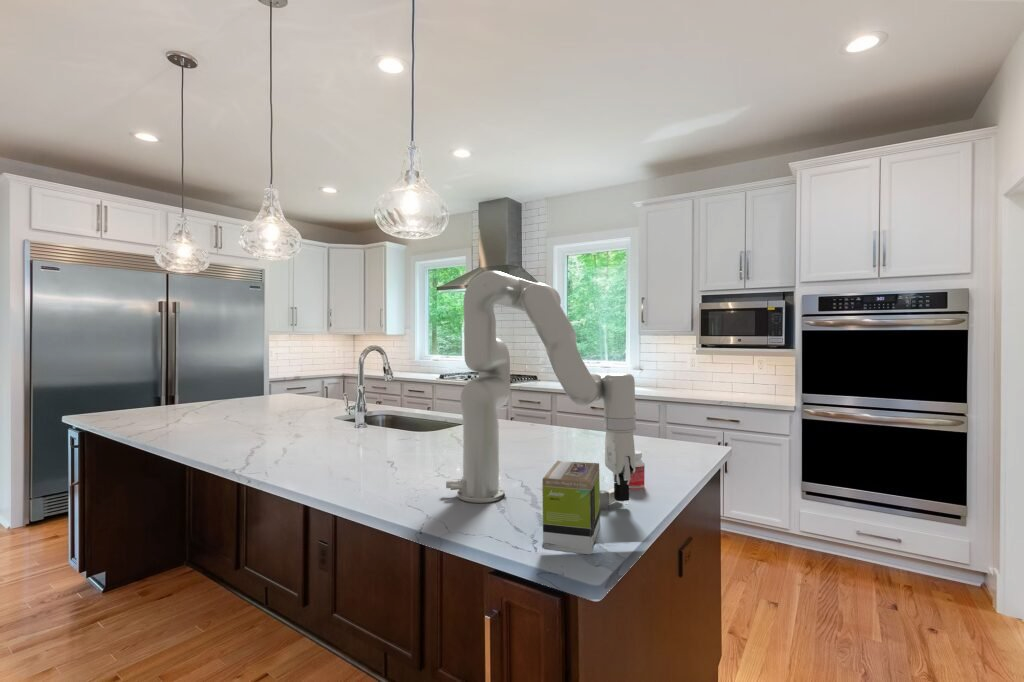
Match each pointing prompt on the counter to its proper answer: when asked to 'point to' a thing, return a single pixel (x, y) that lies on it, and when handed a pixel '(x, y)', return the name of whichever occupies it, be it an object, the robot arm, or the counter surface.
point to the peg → (606, 498)
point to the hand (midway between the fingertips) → (621, 499)
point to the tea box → (571, 507)
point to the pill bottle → (637, 473)
